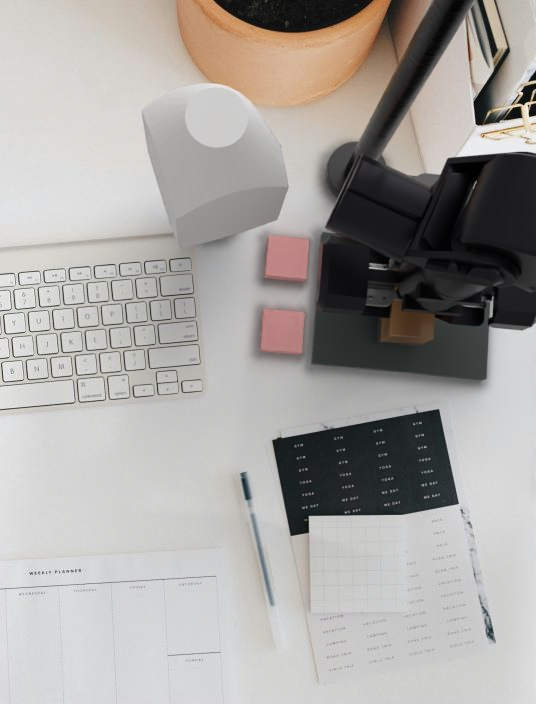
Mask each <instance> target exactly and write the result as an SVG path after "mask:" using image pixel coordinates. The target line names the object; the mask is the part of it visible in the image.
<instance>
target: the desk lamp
mask: <svg viewBox="0 0 536 704" xmlns="http://www.w3.org/2000/svg"><path fill="white" fill-rule="evenodd" d="M476 1H477V0H430V2H429V4H428V6H427V8H426V10H425V12H424V14H423V16H422V18H421V20H420V22H419V24H418V26H417V27H416V29H415V31H414V33H413V35H412V37H411V39H410V41H409V43H408V45H407V47H406V49H405V51H404V53H403V55H402V57H400V61H399V62H398V64H397V67H396V68H395V70H394V72H393V74H392V75H391V78H390V80H389V82H388V84H387V86H386V87H385V90H384V91H383V93H382V95H381V97H380V99H379V101H378V103H377V105H376V107H375V109H374V111H373V112H372V114H371V117H370V119H369V120H368V123H367V125H366V127H365V128H364V131H363V133H362V134H361V136H360V138H359V140H358V141H350V142H346V143H344V144H341V145H340V146H338V147H337V148H336V149H335V150H334V151H333V152H332V153H331V155H330V156H329V159H328V162H327V164H326V166H325V173H324V174H325V175H324V176H325V181H326V184H327V187H328V189H329V190H330V191H331V193H332V194H333V195H334V196H335V197H336V198H338V196H339V194H340V192H341V190H342V188H343V185H344V183H345V181H346V179H347V177H348V175H349V173H350V171H351V169H352V167H353V165H354V163H355V161H356V159H357V157H358V155H362V154H363V155H365V156H367V157H369V158H372V159H374V160H376V161H378V162H380V163H382V164H385V165H387V162H386V160H385V158H384V156H383V153H384V152H385V150H386V148H387V147H388V145H389V143H390V141H391V140H392V139H393V137H394V135H395V133H396V132H397V131H398V128H400V126H401V123H402V122H403V120H404V119H405V118H406V115H407V114H408V112H409V110H410V109H411V107H412V106H413V104H414V102H416V99H417V97H418V96H419V94H420V93H421V91H422V89H423V88H424V86H425V84H426V83H427V81H428V79H430V76H431V75H432V73H433V71H434V70H435V68H436V66H437V65H438V63H439V61H440V60H441V58H442V57H443V55H444V53H445V52H446V50H447V49H448V48H449V45H450V44H451V42H452V40H453V39H454V36H456V34H457V32H458V30H459V29H460V27H461V26H462V25H463V23H464V20H465V19H466V17H467V16H468V14H469V13H470V11H471V9H472V7H473V6H474V4H475V3H476Z"/></svg>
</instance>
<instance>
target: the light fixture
mask: <svg viewBox="0 0 536 704" xmlns="http://www.w3.org/2000/svg"><path fill="white" fill-rule="evenodd" d="M140 112H141V117H142V118H141V119H142V123H143V131H144V136H145V141H146V142H145V143H146V149H147V154H148V157H149V160H150V164H151V167H152V170H153V174H154V178H155V181H156V183H157V184H156V185H157V187H158V190H159V193H160V196H161V199H162V203H163V206H164V209H165V212H166V215H167V218H168V222H169V225H170V228H171V230H172V234H173V237H174V240H175V243H176V246H177V248H178V249H184V248H188V247H194V246H198V245H202V244H206V243H210V242H214V241H218V240H221V239H224V238H228V237H232V236H234V235H235V236H236V235H238V234H241V233H244V232H247V231H250V230H253V229H257V228H259V227H262V226H265V225H268V224H271V223H273V222H275V221H278V220H279V217H280V214H281V211H282V207H283V205H284V202H285V200H286V196H287V193H288V190H289V187H290V186H289V180H288V175H287V168H286V162H285V159H284V158H285V157H284V153H283V149H282V144H281V143H280V141H279V140H278V138H277V136H276V135H275V133H274V132H273V130H272V128H271V127H270V125H269V124H268V123H267V121H266V119H265V118H264V116H263V115H262V114H261V112H260V111H259V109H258V108H257V107H256V105H254V104H253V103H252V102H251V101H250V100H249V99H248V98H247V97H246V96H245V95H244V94H242V92H240V91H238V90H236V89H234V88H232V87H231V86H227V85H224V84H220V83H212V82H211V83H207V82H205V83H195V84H189V85H184V86H180V87H176V88H175V87H174V88H172V89H171V90H169V91H167V92H165V93H164V94H162V95H161V96H158V97H157V98H156V99H154V100H153V101H152V102H150V103H148V104H147V105H146V106H145V107H143V108H142V109H141V110H140Z"/></svg>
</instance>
